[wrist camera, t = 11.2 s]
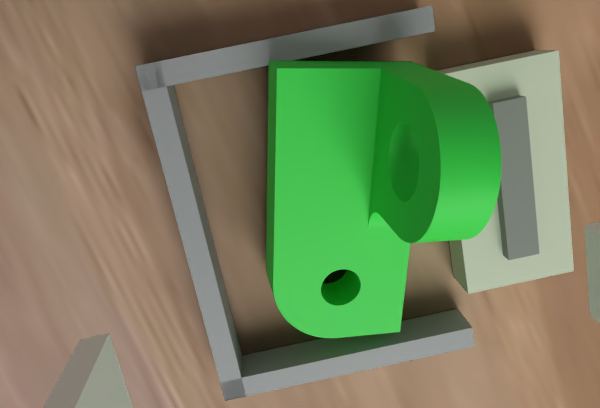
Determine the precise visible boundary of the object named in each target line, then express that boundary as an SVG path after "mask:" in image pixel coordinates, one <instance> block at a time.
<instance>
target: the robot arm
mask: <svg viewBox="0 0 600 408" xmlns="http://www.w3.org/2000/svg"><path fill="white" fill-rule="evenodd" d="M585 242H586V258H587V275H588V291H589V307H590V315H591V316H592V317H593V318H595V319H596V320H597V321H598V322H600V222H598V223H593V224H589V225H585ZM43 408H133V406H132V403H131V400H130V397H129V394H128V391H127V387H126V384H125V381H124V378H123V375H122V372H121V369H120V366H119V363H118V360H117V356H116V353H115V350H114V347H113V344H112V341H111V338H110V335H109V333H108V334H103V335H99V336H94V337H90V338H85V339H81V340H80V341H79V343H78V344H77V346H76V348H75V350H74V352H73V353H72V355H71V357H70V359H69V361H68V363H67V364H66V366H65V368H64V370H63V372H62V374H61V375H60V377H59V379H58V381H57V383H56V385H55V386H54V388H53V390H52V392H51V394H50V396H49V397H48V399H47V401H46V403H45V405H44V407H43Z"/></svg>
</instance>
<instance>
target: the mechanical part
mask: <svg viewBox="0 0 600 408" xmlns="http://www.w3.org/2000/svg"><path fill="white" fill-rule="evenodd" d="M500 182H501V146H500V138H499V132H498V128H497V124H496V121H495V117H494V114H493V112H492V109H491V107H490V105H489V103H488V101H487V100H486V98H485V96H484V95H483V94H482V92H481V91H480V90H479V89H478V88H476V87H475V86H474V85H472V84H470V83H467V82H464V81H462V80H459V79H456V78H454V77H451V76H448V75H446V74H443V73H440V72H438V71H435V70H432V69H430V68H427V67H424V66H422V65H419V64H416V63H414V62H411V61H269V70H268V149H267V229H266V270H267V275H268V279H269V282H270V285H271V288H272V292H273V295H274V298H275V301H276V304H277V306H278V309H279V310H280V312H281V314H282V315H283V317H284V318H285V319H286V320H287V321H288V322H289V323H290V324H291V325H292V326H294V327H295V328H296V329H298V330H300V331H302V332H304V333H306V334H309V335H311V336H315V337H321V338H342V337H353V336H363V335H374V334H384V333H394V332H400V329H401V320H402V311H403V302H404V294H405V285H406V276H407V268H408V259H409V250H410V243H420V242H436V241H452V240H467V239H471V238H473V237H475V236H476V235H478V234H479V233H480V232H481V231H482V230H483V229H484V227H485V226H486V225H487V223H488V221H489V220H490V217H491V215H492V213H493V211H494V208H495V205H496V202H497V198H498V194H499V189H500ZM341 269H347V271H346V273H345V274H344V276H343V277H342V278H340V279H339V280H337V281H335V282H333V283H323V281H324V279H325V278H326V277H327V276H328V275H329V274H331V273H332V272H334V271H337V270H341Z"/></svg>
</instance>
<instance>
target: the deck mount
mask: <svg viewBox="0 0 600 408" xmlns="http://www.w3.org/2000/svg"><path fill="white" fill-rule="evenodd" d="M434 31H435V24H434V16H433V8H432V6H427V7H422V8H417V9H412V10H407V11H402V12H397V13H392V14H388V15H383V16H378V17H373V18H368V19H363V20H358V21H353V22H348V23H344V24H339V25H334V26H329V27H324V28H319V29H314V30H309V31H304V32H300V33H295V34H290V35H285V36H280V37H275V38H270V39H265V40H260V41H256V42H251V43H246V44H241V45H236V46H231V47H226V48H221V49H216V50H212V51H207V52H202V53H197V54H192V55H187V56H182V57H177V58H172V59H167V60H163V61H158V62H153V63H148V64H143V65H138V66H135V68H136V72H137V76H138V80H139V83H140V87H141V91H142V94H143V98H144V102H145V105H146V109H147V113H148V117H149V120H150V124H151V128H152V131H153V135H154V139H155V143H156V146H157V150H158V154H159V157H160V161H161V165H162V169H163V172H164V176H165V180H166V183H167V187H168V191H169V195H170V198H171V202H172V206H173V209H174V213H175V217H176V221H177V224H178V228H179V232H180V235H181V239H182V243H183V246H184V250H185V254H186V258H187V261H188V265H189V269H190V272H191V276H192V280H193V284H194V287H195V291H196V295H197V298H198V302H199V306H200V310H201V313H202V317H203V321H204V324H205V328H206V332H207V336H208V339H209V343H210V347H211V350H212V354H213V358H214V362H215V365H216V369H217V373H218V376H219V380H220V384H221V387H222V391H223V395H224V399H225V401H227V400H232V399H236V398H241V397H245V396H250V395H254V394H259V393H264V392H268V391H273V390H277V389H282V388H286V387H291V386H296V385H300V384H305V383H309V382H314V381H318V380H323V379H328V378H332V377H337V376H341V375H346V374H350V373H355V372H360V371H364V370H369V369H373V368H378V367H382V366H387V365H392V364H396V363H401V362H405V361H410V360H414V359H419V358H424V357H428V356H433V355H437V354H442V353H446V352H451V351H456V350H460V349H465V348H469V347H474V346H475V344H474V336H473V328H472V326H471V325H470V324H469V322H468V321H467V320H466V319H465V317H464V316H463V315H462V313H461V312H460V311H459V310H458V309H454V310H450V311H445V312H441V313H436V314H431V315H427V316H422V317H417V318H413V319H408V320H404V321H401V329H400V332H394V333H384V334H374V335H363V336H353V337H342V338H321V339H316V340H312V341H307V342H302V343H298V344H293V345H289V346H284V347H279V348H275V349H270V350H265V351H261V352H256V353H252V354H247V355H242V353H241V349H240V345H239V341H238V337H237V333H236V329H235V325H234V321H233V317H232V313H231V309H230V305H229V301H228V298H227V294H226V290H225V286H224V282H223V278H222V274H221V270H220V266H219V262H218V258H217V254H216V250H215V246H214V242H213V238H212V234H211V230H210V226H209V223H208V219H207V215H206V211H205V207H204V203H203V199H202V195H201V191H200V187H199V183H198V179H197V175H196V171H195V167H194V163H193V159H192V155H191V152H190V148H189V144H188V140H187V136H186V132H185V128H184V124H183V120H182V116H181V112H180V108H179V104H178V100H177V96H176V92H175V88H174V85H176V84H181V83H186V82H190V81H195V80H200V79H205V78H210V77H215V76H220V75H225V74H229V73H234V72H239V71H244V70H249V69H254V68H259V67H263V66H268V65H269V61H293V60H297V59H302V58H307V57H312V56H317V55H322V54H327V53H332V52H336V51H341V50H346V49H351V48H356V47H361V46H366V45H370V44H375V43H380V42H385V41H390V40H395V39H400V38H404V37H409V36H414V35H419V34H424V33H429V32H434ZM437 71H438V72H440V73H443V74H446V75H448V76H451V77H454V78H456V79H459V80H462V81H464V82H467V83H470V84H472V85H474V86H475V87H476V88H478V89H479V90H480V91H481V92H482V94H483V95H484V96H485V98H486V100H487V101H488V103H489V105H490V107H491V109H492V112H493V114H494V117H495V121H496V124H497V128H498V132H499V138H500V146H501V182H500V189H499V194H498V198H497V202H496V205H495V208H494V211H493V213H492V215H491V217H490V220H489V221H488V223H487V225H486V226H485V227H484V229H483V230H482V231H481V232H480V233H479V234H478V235H476V236H475V237H473V238H471V239H467V240H452V241H449V246H450V253H451V261H452V269H453V276H454V278H455V279H456V280H457V281H458V283H459V284H460V285H461V286H462V287H463V288H464V290H465V291H466V292H467V293H468V294H470V293H474V292H479V291H484V290H488V289H493V288H498V287H502V286H507V285H511V284H516V283H521V282H525V281H530V280H534V279H539V278H544V277H548V276H553V275H558V274H562V273H567V272H571V271H574V267H573V253H572V238H571V223H570V209H569V194H568V179H567V165H566V150H565V136H564V121H563V106H562V92H561V77H560V62H559V50H534V51H529V52H524V53H519V54H515V55H510V56H505V57H500V58H495V59H490V60H486V61H481V62H476V63H471V64H466V65H461V66H457V67H452V68H447V69H442V70H437Z"/></svg>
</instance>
